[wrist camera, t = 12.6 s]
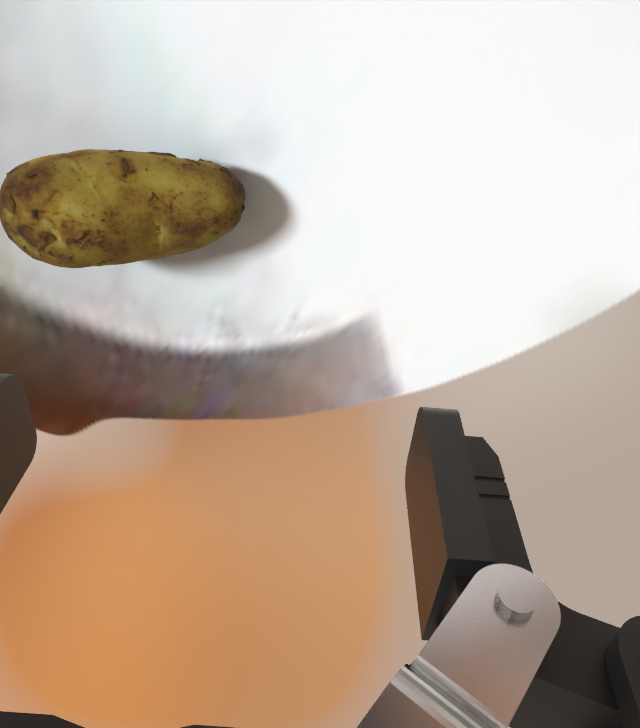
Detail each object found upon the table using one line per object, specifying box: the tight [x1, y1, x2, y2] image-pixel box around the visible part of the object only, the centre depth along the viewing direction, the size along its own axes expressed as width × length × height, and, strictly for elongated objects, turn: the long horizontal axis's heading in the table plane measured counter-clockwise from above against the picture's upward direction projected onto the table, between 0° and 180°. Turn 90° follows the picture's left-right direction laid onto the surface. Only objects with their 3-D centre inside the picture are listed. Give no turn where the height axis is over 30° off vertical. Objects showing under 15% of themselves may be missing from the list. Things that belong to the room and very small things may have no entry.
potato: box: [0, 149, 245, 268], centre depth 35 cm, size 8×13×8 cm, turn 70°
